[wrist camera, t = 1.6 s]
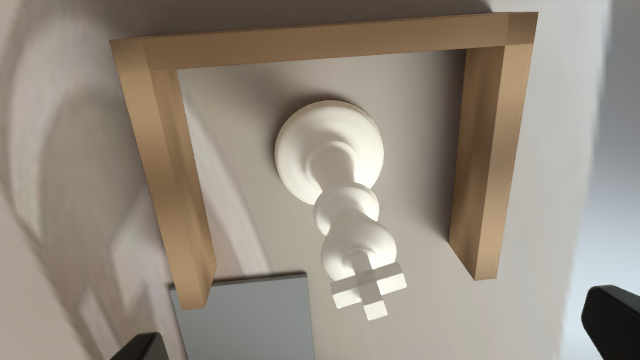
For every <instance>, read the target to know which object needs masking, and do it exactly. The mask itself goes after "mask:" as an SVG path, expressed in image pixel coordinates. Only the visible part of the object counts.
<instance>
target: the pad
mask: <svg viewBox="0 0 640 360" xmlns="http://www.w3.org/2000/svg"><path fill="white" fill-rule="evenodd" d="M169 291H170V295H171V299H172V302H173V306H174V309H175V313H176V317H177V320H178V324H179V327H180V331H181V335H182V338H183V342H184V345H185V349H186V353H187V356H188V360H315V359H314V348H313V337H312V326H311V315H310V304H309V293H308V282H307V274H297V275H287V276H277V277H266V278H256V279H246V280H236V281H226V282H216V283H212V285H211V288H210V292H209V295H208V299H207V303H206V306H205V308H201V309H191V310H181V306H180V303H179V299H178V295H177V291H176V288H175V287H171V288H170V290H169Z"/></svg>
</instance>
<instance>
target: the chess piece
mask: <svg viewBox="0 0 640 360" xmlns="http://www.w3.org/2000/svg"><path fill="white" fill-rule="evenodd" d="M383 159H384V149H383V143H382V139H381V135H380V133H379V130H378V128H377V126H376V124H375V123H374V121H373V120H372V119H371V118H370V117H369V116H368V115H367V114H366V113H365V112H364V111H363V110H361V109H360V108H358V107H356V106H354V105H352V104H349V103H346V102H342V101H336V100H325V101H319V102H315V103H312V104H309V105H307V106H305V107H303V108H301V109H299V110H298V111H296V112H295V113H294V114H293V115H292V116H291V117H290V118H289V119H288V120H287V121H286V122H285V123H284V125H283V126H282V128H281V130H280V132H279V134H278V137H277V140H276V144H275V163H276V167H277V170H278V173H279V176H280V178H281V180H282V182H283V184H284V185H285V187H286V188H287V189H288V190H289V191H290V192H291V193H292V194H293V195H294V196H296V197H297V198H298V199H300V200H302V201H304V202H306V203H308V204H311V205H314V209H313V218H314V221H315V224H316V226H317V228H318V229H319V230H320V231H321V232H322V234H324V235H325V236H326V237H325V240H324V243H323V246H322V250H321V261H322V265H323V268H324V270H325V271H326V273H327V274H328V275H329V276H330V277H331V278H332V279H333V280H335V281H334V282H331V283H330V284H331V291H332V296H333V298H334V301H335V303H336V306H337V308H338V309H339V308H342V307H345V306H348V305H351V304H355V303H358V302H361V301H362V303H363V307H364V310H365V312H366V315H367V318H368V320H373V319H376V318H379V317H382V316H385V315H388V314H387V311H386V308H385V305H384V302H383V299H382V296H381V295H383V294H387V293H390V292H393V291H396V290H399V289H403V288H406V287H407V285H406V282H405V278H404V275H403V272H402V270H401V267H400V265H399V263H398V261H397V262H395V259H396V244H395V241H394V239H393V237H392V235H391V234H390V233H389V231H388V230H387V229H386V228H385V227H383V226H382V225H381V224H379V223H378V222H377V220H378V214H379V204H378V200H377V198H376V196H375V195H374V193H373V192H372V191H371V190H370V188H371V187H372V186H373V184H374V183H375V181H376V180H377V178H378V176H379V174H380V172H381V169H382V165H383Z"/></svg>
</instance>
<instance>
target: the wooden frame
mask: <svg viewBox="0 0 640 360" xmlns="http://www.w3.org/2000/svg"><path fill="white" fill-rule="evenodd" d="M537 18H538V12H492V13H477V14H462V15H447V16H432V17H417V18H402V19H387V20H372V21H358V22H343V23H328V24H313V25H298V26H283V27H268V28H253V29H238V30H223V31H208V32H193V33H178V34H163V35H148V36H138V37H131V38H124V39H117V40H110V45H111V49H112V53H113V56H114V60H115V64H116V68H117V71H118V75H119V79H120V82H121V86H122V90H123V94H124V97H125V101H126V105H127V109H128V112H129V116H130V120H131V124H132V127H133V131H134V135H135V138H136V142H137V146H138V150H139V153H140V157H141V161H142V165H143V168H144V172H145V176H146V180H147V183H148V187H149V191H150V194H151V198H152V202H153V206H154V209H155V213H156V217H157V221H158V224H159V228H160V232H161V235H162V239H163V243H164V247H165V250H166V254H167V258H168V262H169V265H170V269H171V273H172V277H173V280H174V284H175V288H176V291H177V295H178V299H179V303H180V306H181V310H191V309H201V308H205V306H206V303H207V299H208V295H209V292H210V288H211V285H212V281H213V278H214V274H215V271H216V267H217V265H216V260H215V255H214V251H213V246H212V241H211V236H210V231H209V226H208V222H207V217H206V212H205V207H204V202H203V197H202V193H201V188H200V183H199V178H198V173H197V168H196V164H195V159H194V154H193V149H192V144H191V139H190V135H189V130H188V125H187V120H186V115H185V110H184V106H183V101H182V96H181V91H180V86H179V81H178V77H177V72H176V69H184V68H198V67H212V66H226V65H240V64H254V63H268V62H282V61H296V60H310V59H324V58H338V57H352V56H366V55H380V54H394V53H408V52H422V51H436V50H450V49H464V48H466V59H465V70H464V81H463V92H462V103H461V114H460V125H459V135H458V146H457V157H456V168H455V179H454V190H453V201H452V212H451V223H450V234H449V245H450V247H451V248H452V249H453V251H454V252H455V254H456V255H457V256H458V258H459V259H460V261H461V262H462V264H463V265H464V266H465V268H466V269H467V271H468V272H469V273H470V275H471V276H472V278H473V279H474V281H477V280H486V279H496V277H497V271H498V264H499V258H500V252H501V245H502V239H503V233H504V226H505V220H506V214H507V207H508V201H509V195H510V189H511V182H512V176H513V170H514V163H515V157H516V151H517V144H518V138H519V132H520V125H521V119H522V113H523V107H524V100H525V94H526V88H527V81H528V75H529V69H530V62H531V56H532V50H533V43H534V37H535V31H536V25H537Z"/></svg>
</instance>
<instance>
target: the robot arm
mask: <svg viewBox="0 0 640 360" xmlns="http://www.w3.org/2000/svg"><path fill="white" fill-rule="evenodd" d="M581 321H582V324H583V327H584V329H585V330H586V332H587V334H588V335H589V337H590V338H591V340H592V342H593V343H594V345H595V347H596V348H597V350H598V351H599V353H600V355H601V356H602V358H603V360H640V296H638V295H635V294H633V293H631V292H628V291H626V290H623V289H621V288H619V287H616V286H613V285H603V286H594V287H591V288H590V289H589V291H588V293H587V297H586V300H585V304H584V308H583V311H582V314H581ZM110 360H169V358H168V355H167V351H166V348H165V345H164V342H163V338H162V336H161V334H160V333H159V332H148V333H140V334H138V335H136V336H135V337H134V338H132V339H131V340H130V341H129V342H128V343H127V344H126V345H125V346H124V347H123V348H122V349H121V350H120V351H118V352H117V353H116V354H115V355H114V356H113V357H112V358H111V359H110Z"/></svg>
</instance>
